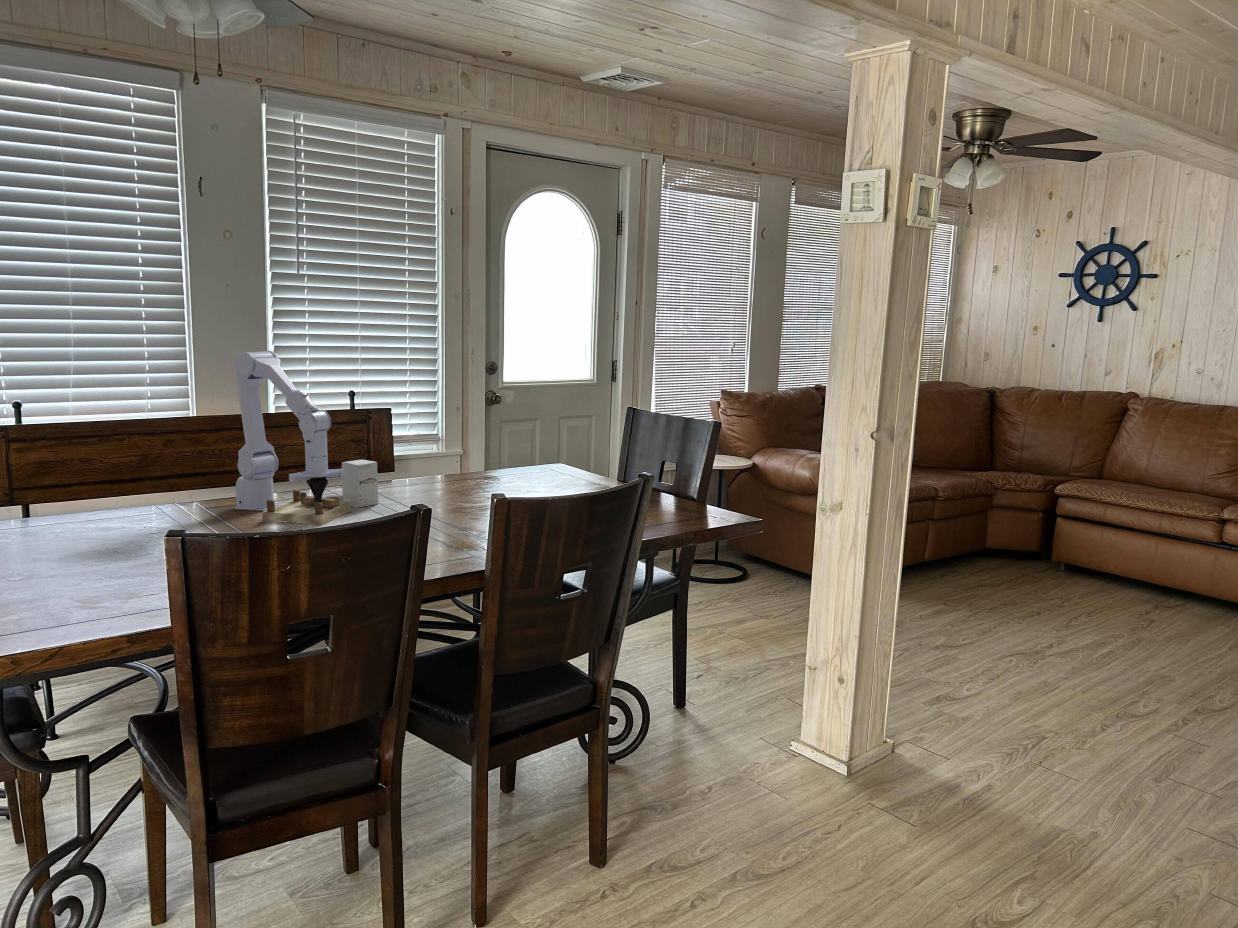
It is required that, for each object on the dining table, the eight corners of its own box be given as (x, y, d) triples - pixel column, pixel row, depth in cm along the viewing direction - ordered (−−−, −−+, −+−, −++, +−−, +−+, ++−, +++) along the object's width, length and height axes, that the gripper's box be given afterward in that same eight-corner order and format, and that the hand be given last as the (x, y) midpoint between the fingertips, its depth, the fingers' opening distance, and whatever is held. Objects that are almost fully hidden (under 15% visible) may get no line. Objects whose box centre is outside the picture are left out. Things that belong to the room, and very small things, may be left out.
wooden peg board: (262, 521, 242) (261, 500, 241) (293, 508, 257) (292, 489, 256) (322, 524, 239) (321, 504, 238) (349, 511, 254) (349, 492, 253)
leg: (299, 503, 250) (298, 493, 250) (304, 502, 252) (303, 491, 252) (332, 507, 246) (331, 497, 246) (336, 506, 248) (336, 495, 247)
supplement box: (358, 508, 258) (356, 464, 256) (342, 504, 263) (340, 461, 260) (379, 504, 264) (378, 461, 262) (363, 500, 268) (361, 458, 266)
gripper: (295, 460, 236) (297, 511, 239) (348, 455, 246) (349, 504, 248) (285, 456, 242) (287, 506, 244) (337, 451, 251) (339, 499, 253)
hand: (318, 505), depth 246 cm, fingers closed, pressing on leg
